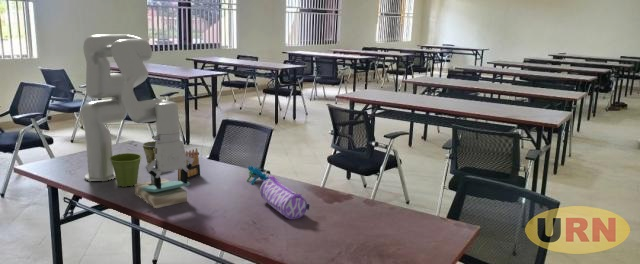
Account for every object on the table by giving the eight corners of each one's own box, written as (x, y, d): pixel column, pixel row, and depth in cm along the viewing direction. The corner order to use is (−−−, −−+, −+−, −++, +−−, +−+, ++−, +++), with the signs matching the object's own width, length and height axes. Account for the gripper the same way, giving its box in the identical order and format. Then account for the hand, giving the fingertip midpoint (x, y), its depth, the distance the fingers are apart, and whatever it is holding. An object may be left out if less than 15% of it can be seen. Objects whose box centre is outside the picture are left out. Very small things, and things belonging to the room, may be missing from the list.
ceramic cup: (144, 163, 237) (142, 141, 234) (167, 161, 240) (166, 140, 237) (143, 171, 225) (142, 148, 222) (168, 170, 228) (167, 147, 225)
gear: (274, 180, 212) (258, 165, 207) (266, 192, 210) (249, 178, 205) (260, 177, 220) (244, 163, 215) (252, 188, 218) (236, 174, 213)
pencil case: (310, 218, 178) (310, 191, 176) (286, 223, 173) (286, 196, 171) (279, 198, 196) (279, 174, 194) (256, 202, 191) (256, 178, 189)
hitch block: (135, 194, 197) (134, 184, 196) (165, 188, 204) (165, 178, 203) (155, 208, 183) (154, 197, 182) (187, 201, 191) (186, 190, 190)
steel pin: (150, 192, 197) (148, 166, 194) (158, 190, 199) (157, 164, 196) (153, 194, 194) (152, 168, 192) (162, 192, 196) (160, 166, 194)
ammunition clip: (181, 182, 212) (180, 153, 209) (177, 181, 213) (176, 152, 210) (200, 175, 221) (199, 148, 218) (197, 175, 222) (196, 147, 219)
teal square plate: (141, 190, 189) (141, 187, 189) (175, 183, 198) (175, 180, 198) (155, 192, 180) (154, 189, 180) (189, 185, 188) (189, 182, 188)
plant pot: (104, 187, 203) (102, 159, 201) (123, 178, 214) (121, 152, 212) (132, 190, 200) (130, 162, 198) (149, 181, 212) (147, 154, 209)
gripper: (148, 143, 173) (152, 192, 177) (196, 135, 184) (199, 182, 187) (139, 139, 179) (143, 187, 182) (186, 132, 190) (189, 178, 193)
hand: (171, 185), depth 185 cm, fingers open, 9 cm apart
